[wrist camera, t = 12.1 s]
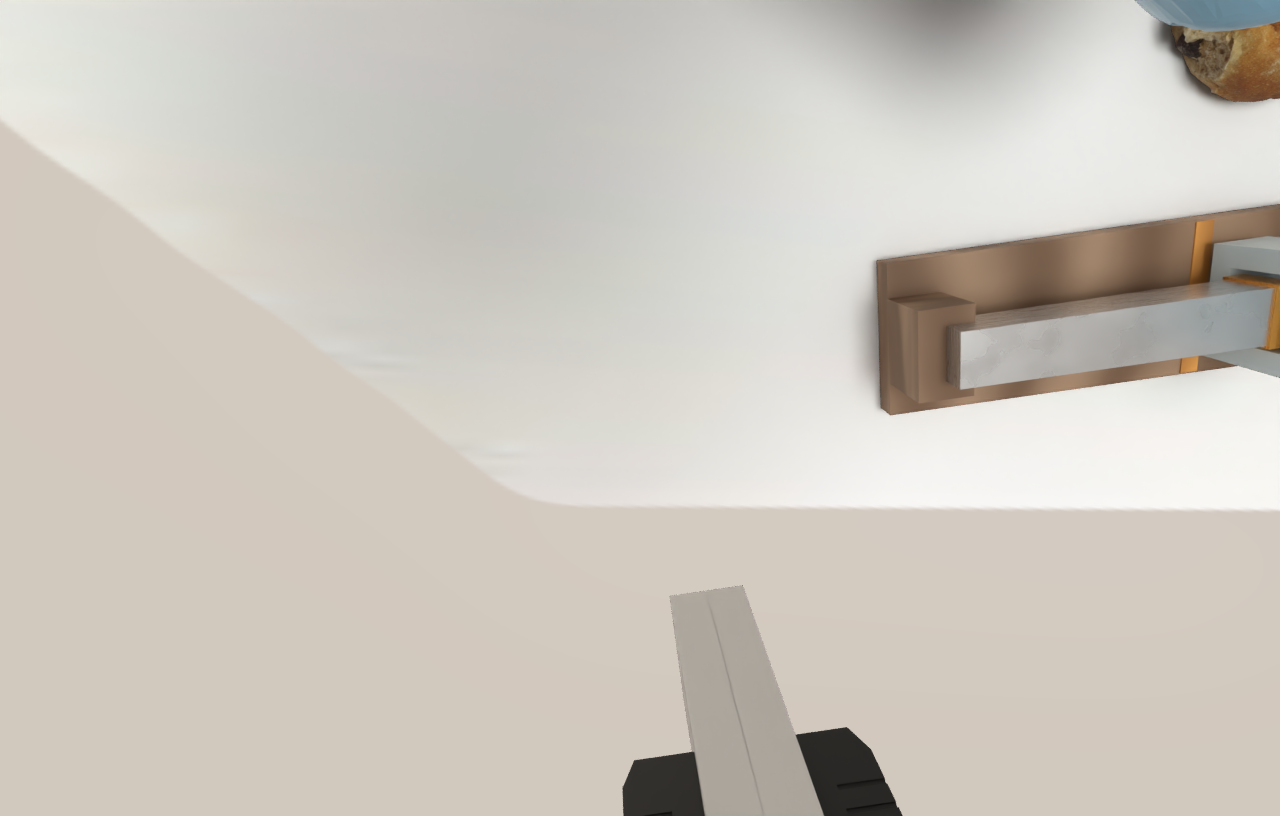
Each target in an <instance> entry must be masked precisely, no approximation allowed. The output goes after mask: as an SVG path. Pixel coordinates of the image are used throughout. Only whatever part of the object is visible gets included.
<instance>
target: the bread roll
mask: <svg viewBox="0 0 1280 816" xmlns="http://www.w3.org/2000/svg"><path fill="white" fill-rule="evenodd" d="M1171 30H1172V33H1173V36H1174V38H1175V43H1176V48H1177V49H1178V50H1179V51H1180V52H1181V53H1182V55H1183V57H1184V60H1185V62H1186V64H1187V66H1188V68H1189V70H1190V72H1191V73H1192V74H1193V75H1194V76H1195V77H1197V78H1198V79H1199V80H1200V81H1201V82H1202V83H1204V84H1205V85H1207V86H1208V87H1209V88H1210V89H1211V92H1212V93H1216V94H1217V95H1219V96H1221V97H1223V98H1225V99H1227V100H1231V101H1234V102H1237V101H1239V102H1256V101H1263V100H1267V99H1269V98H1272V99H1279V98H1280V22H1276V23H1271V24H1267V25H1262V26H1258V27H1253V28H1246V29H1240V30H1231V31H1218V32H1210V31H1202V30H1193V29H1190V28H1187V27H1184V26H1172V25H1171Z"/></svg>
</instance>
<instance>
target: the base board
mask: <svg viewBox="0 0 1280 816" xmlns="http://www.w3.org/2000/svg"><path fill="white" fill-rule="evenodd" d="M1265 236H1272V237H1280V204H1277V205H1270V206H1263V207H1256V208H1249V209H1242V210H1235V211H1227V212H1220V213H1213V214H1206V215H1199V216H1192V217H1185V218H1177V219H1170V220H1163V221H1156V222H1149V223H1142V224H1135V225H1127V226H1120V227H1113V228H1106V229H1099V230H1092V231H1085V232H1078V233H1070V234H1063V235H1056V236H1049V237H1042V238H1035V239H1028V240H1020V241H1013V242H1006V243H999V244H992V245H985V246H978V247H970V248H963V249H956V250H949V251H942V252H935V253H928V254H920V255H913V256H906V257H899V258H892V259H885V260H878V261H877V281H878V318H879V355H880V392H881V408H882V409H883V410H884V411H886V412H887V413H888V414H889V415H896V414H903V413H910V412H917V411H924V410H931V409H938V408H945V407H952V406H959V405H966V404H973V403H980V402H987V401H994V400H1001V399H1008V398H1015V397H1022V396H1029V395H1037V394H1044V393H1051V392H1058V391H1065V390H1072V389H1079V388H1086V387H1093V386H1100V385H1107V384H1114V383H1121V382H1128V381H1135V380H1142V379H1149V378H1156V377H1163V376H1170V375H1177V374H1184V373H1191V372H1198V371H1205V370H1212V369H1219V368H1226V367H1233V366H1237V365H1234V364H1230V363H1227V362H1223V361H1220V360H1216V359H1213V358H1209V357H1206V356H1202V355H1201V356H1194V357H1187V358H1180V359H1173V360H1166V361H1159V362H1152V363H1145V364H1138V365H1130V366H1123V367H1116V368H1109V369H1102V370H1095V371H1088V372H1081V373H1074V374H1067V375H1060V376H1053V377H1046V378H1039V379H1032V380H1025V381H1018V382H1011V383H1004V384H997V385H990V386H983V387H976V388H969V389H962V390H960V389H958V388H957V387H955V386H953V385H951V384H950V383H948V382H947V326H953V325H960V324H967V323H974V322H975V317H976V315H979V314H986V313H993V312H1000V311H1008V310H1015V309H1022V308H1029V307H1036V306H1043V305H1050V304H1057V303H1064V302H1071V301H1078V300H1085V299H1093V298H1100V297H1107V296H1114V295H1121V294H1128V293H1135V292H1142V291H1149V290H1156V289H1163V288H1171V287H1178V286H1185V285H1192V284H1199V283H1206V282H1210V275H1211V266H1212V258H1213V250H1214V244H1215V243H1222V242H1229V241H1236V240H1243V239H1250V238H1258V237H1265Z"/></svg>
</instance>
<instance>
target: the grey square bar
mask: <svg viewBox="0 0 1280 816" xmlns="http://www.w3.org/2000/svg"><path fill="white" fill-rule="evenodd" d="M1257 347H1261V348H1265V349H1269V350H1270V349H1277V348H1280V275H1279V274H1272V273H1270V274H1263V275H1251V274H1239V275H1231V276H1224V277H1223V280H1220V281H1213V282H1206V283H1199V284H1192V285H1185V286H1178V287H1171V288H1163V289H1156V290H1149V291H1142V292H1135V293H1128V294H1121V295H1114V296H1107V297H1100V298H1093V299H1085V300H1078V301H1071V302H1064V303H1057V304H1050V305H1043V306H1036V307H1029V308H1022V309H1015V310H1008V311H1000V312H993V313H986V314H979V315H976V317H975V322H974V323H967V324H960V325H953V326H947V382H948V383H950V384H951V385H953V386H955V387H957V388H958V389H960V390H962V389H969V388H976V387H983V386H990V385H997V384H1004V383H1011V382H1018V381H1025V380H1032V379H1039V378H1046V377H1053V376H1060V375H1067V374H1074V373H1081V372H1088V371H1095V370H1102V369H1109V368H1116V367H1123V366H1130V365H1138V364H1145V363H1152V362H1159V361H1166V360H1173V359H1180V358H1187V357H1194V356H1201V355H1208V354H1215V353H1222V352H1229V351H1236V350H1243V349H1250V348H1257Z"/></svg>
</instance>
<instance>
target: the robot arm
mask: <svg viewBox="0 0 1280 816" xmlns="http://www.w3.org/2000/svg"><path fill="white" fill-rule="evenodd" d="M1135 1H1136V2H1137V3H1138V4H1139V5H1140V6H1141V7H1142V8H1143V9H1144V10H1145V11H1146V12H1148V13H1149V14H1150V15H1151V16H1153V17H1154V18H1156V19H1158V20H1160V21H1162V22H1164V23H1166V24H1168V25H1172V26H1184V27H1187V28H1190V29H1193V30H1202V31H1210V32H1218V31H1231V30H1240V29H1246V28H1253V27H1258V26H1262V25H1267V24H1271V23H1276V22H1280V0H1135ZM670 603H671V610H672V617H673V624H674V631H675V639H676V646H677V654H678V660H679V668H680V676H681V683H682V690H683V698H684V705H685V711H686V718H687V724H688V730H689V736H690V743H691V749H692V752H689V753H682V754H676V755H669V756H662V757H655V758H648V759H641V760H634V762H633V765H632V767H631V770H630V772H629V774H628V777H627V779H626V782H625V784H624V786H623V813H624V816H902V814H901V811H900V809H899V808H897V806H896V801H895V799H894V797H893V795H892V793H891V790H890V788H889V786H888V784H886V782H885V778H884V776H883V774H882V772H881V770H880V767H879V765H878V763H877V761H876V759H875V757H874V755H873V753H872V751H871V749H870V748H869V747H868V746H867V745H866V744H865V743H863V742H862V741H861V740H860V739H859V738H858V737H857V736H856V735H855V734H854V733H853V732H851V731H850V730H849V729H848V728H847V727H845V728H838V729H831V730H825V731H818V732H811V733H805V734H797V735H795V732H794V729H793V727H792V724H791V721H790V718H789V715H788V712H787V710H786V707H785V704H784V701H783V698H782V695H781V692H780V690H779V687H778V684H777V681H776V678H775V675H774V673H773V670H772V667H771V664H770V661H769V658H768V655H767V653H766V650H765V647H764V644H763V641H762V639H761V636H760V633H759V630H758V627H757V624H756V622H755V619H754V616H753V613H752V610H751V607H750V605H749V601H748V599H747V596H746V593H745V590H744V587H743V585H742V586H735V587H728V588H722V589H714V590H707V591H700V592H693V593H687V594H680V595H674V596H670Z"/></svg>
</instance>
